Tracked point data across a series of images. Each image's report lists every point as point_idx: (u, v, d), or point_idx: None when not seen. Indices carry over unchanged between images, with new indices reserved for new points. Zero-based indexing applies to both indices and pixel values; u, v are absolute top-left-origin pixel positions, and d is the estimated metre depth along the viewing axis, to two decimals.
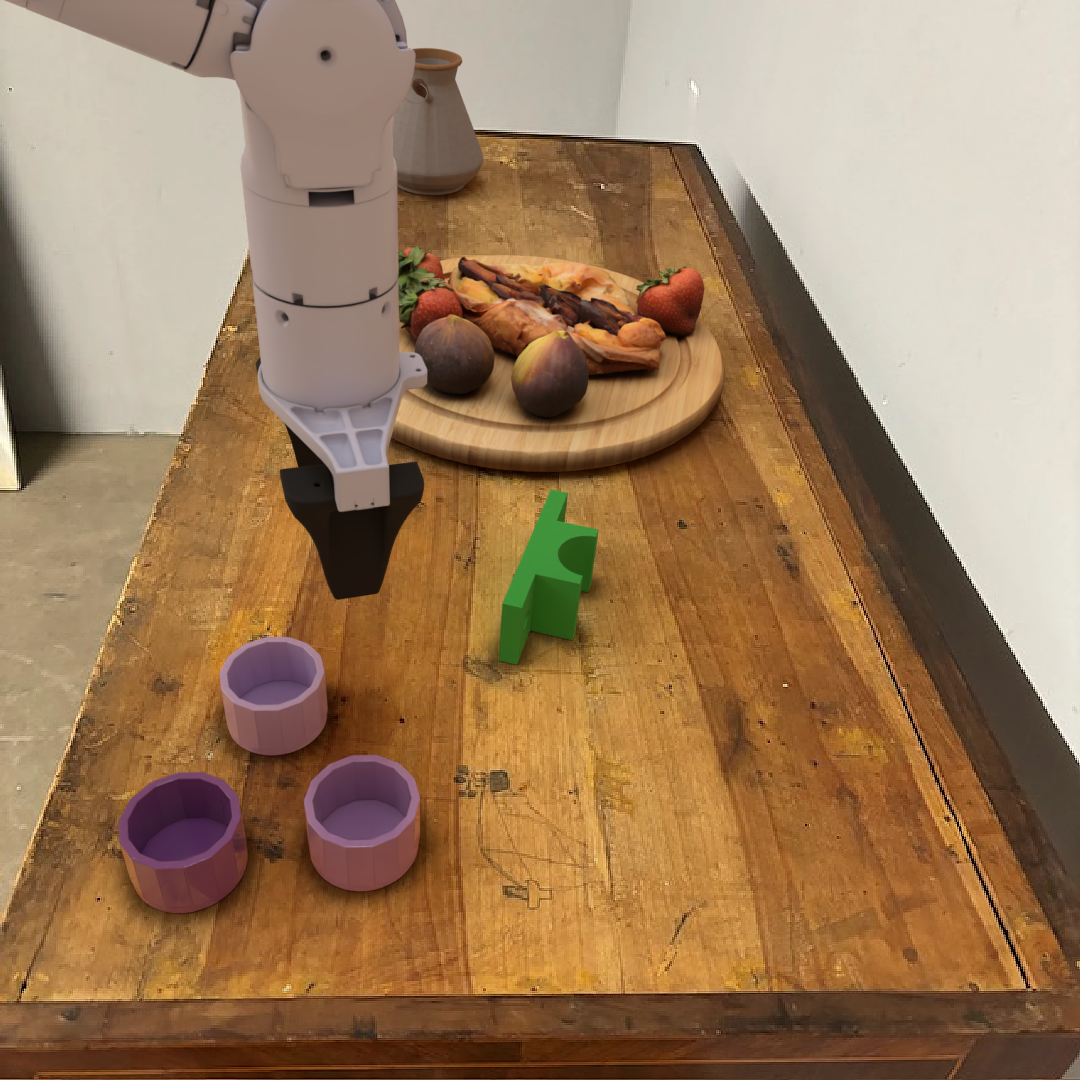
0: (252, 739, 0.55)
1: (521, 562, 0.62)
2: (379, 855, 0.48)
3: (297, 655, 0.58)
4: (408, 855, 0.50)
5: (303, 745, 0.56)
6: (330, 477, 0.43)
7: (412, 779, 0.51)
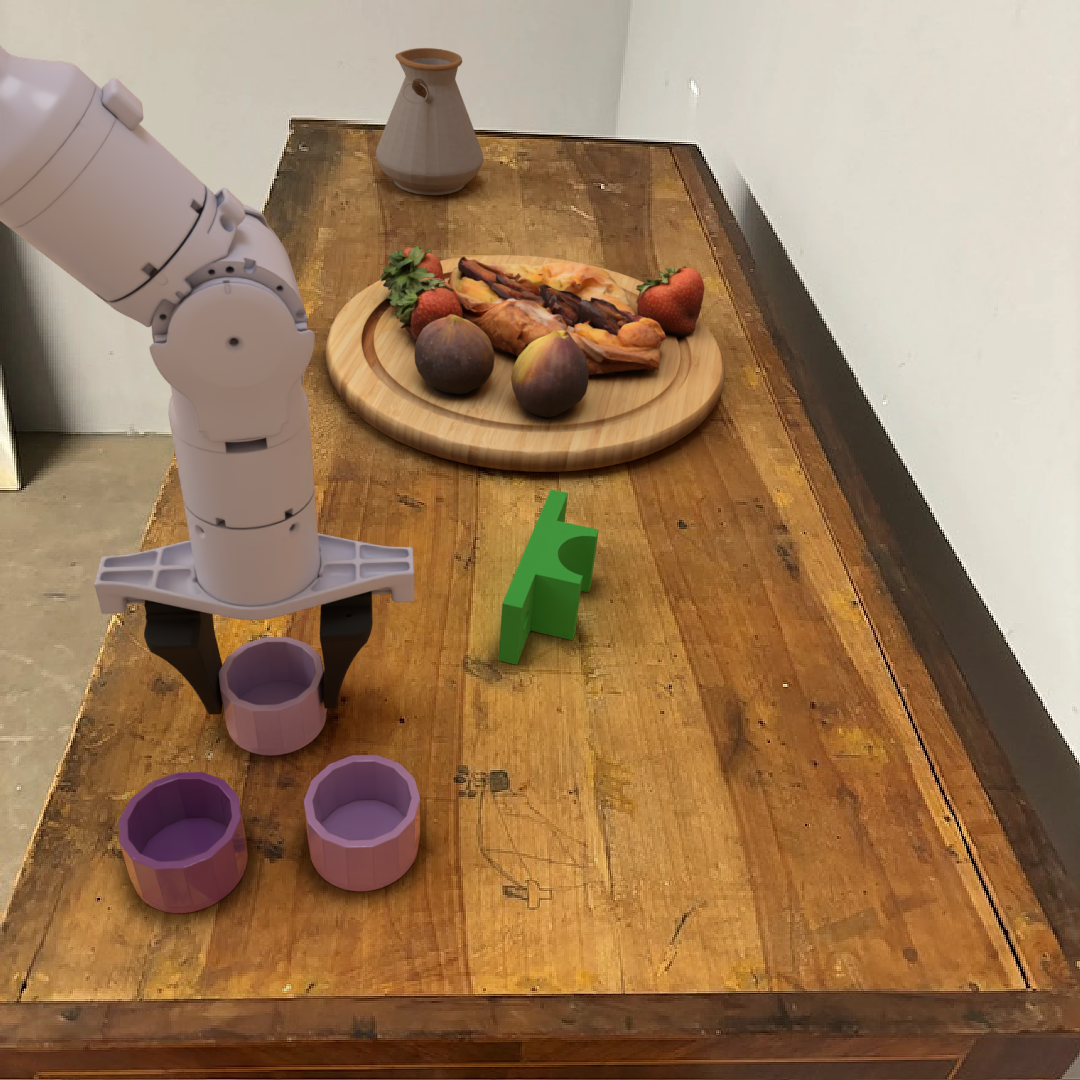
0: (251, 739, 0.55)
1: (521, 562, 0.62)
2: (379, 855, 0.48)
3: (296, 655, 0.58)
4: (408, 855, 0.50)
5: (302, 745, 0.56)
6: (340, 607, 0.52)
7: (412, 779, 0.51)
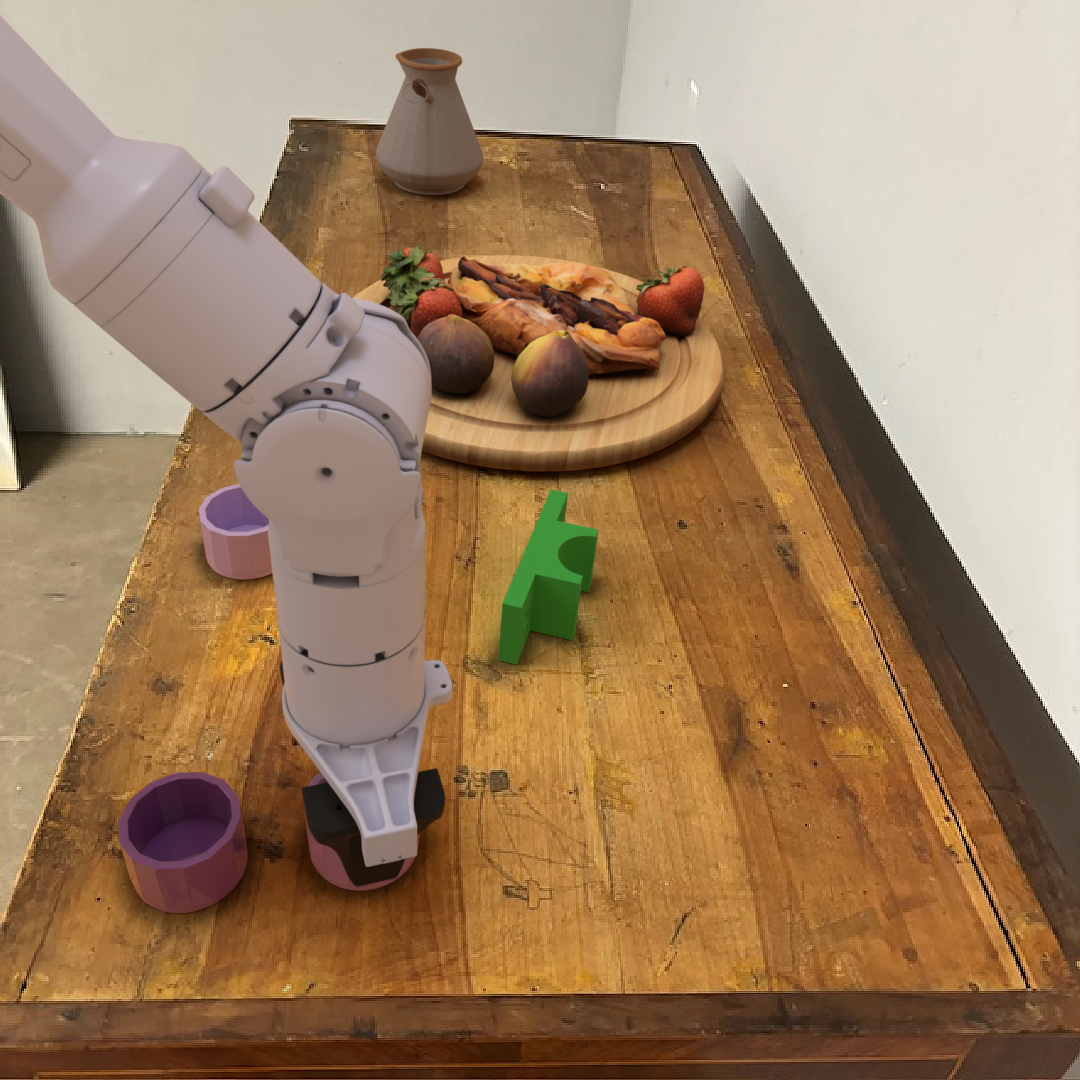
0: (226, 564, 0.65)
1: (521, 562, 0.62)
2: None
3: None
4: None
5: (270, 572, 0.66)
6: None
7: None
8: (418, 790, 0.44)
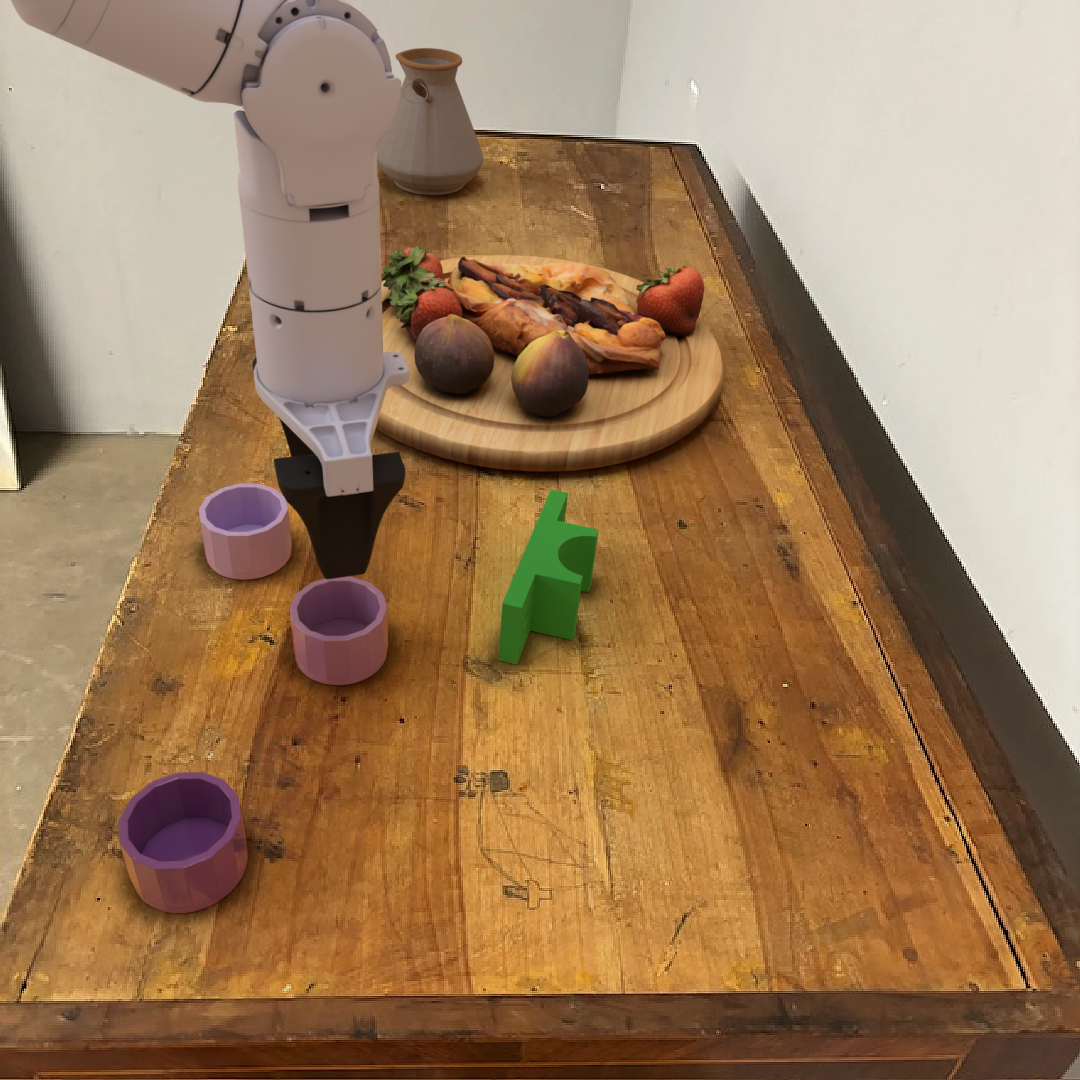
0: (226, 564, 0.65)
1: (521, 562, 0.62)
2: (352, 650, 0.58)
3: (265, 500, 0.68)
4: (377, 656, 0.60)
5: (270, 572, 0.66)
6: (319, 466, 0.48)
7: (381, 594, 0.61)
8: (381, 465, 0.48)
